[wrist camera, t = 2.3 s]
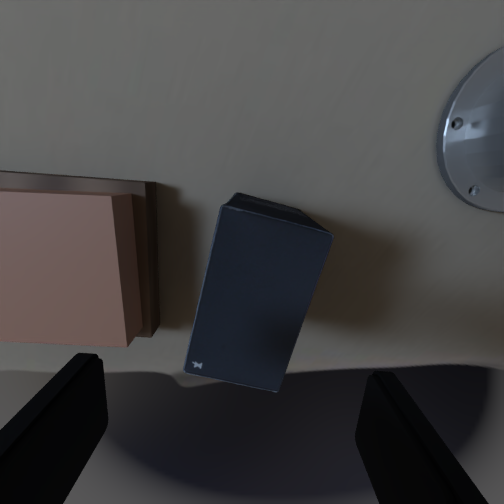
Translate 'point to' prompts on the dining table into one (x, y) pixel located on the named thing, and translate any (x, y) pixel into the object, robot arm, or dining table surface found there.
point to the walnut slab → (143, 226)
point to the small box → (255, 292)
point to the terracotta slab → (68, 268)
